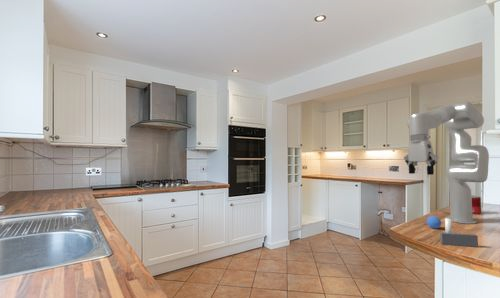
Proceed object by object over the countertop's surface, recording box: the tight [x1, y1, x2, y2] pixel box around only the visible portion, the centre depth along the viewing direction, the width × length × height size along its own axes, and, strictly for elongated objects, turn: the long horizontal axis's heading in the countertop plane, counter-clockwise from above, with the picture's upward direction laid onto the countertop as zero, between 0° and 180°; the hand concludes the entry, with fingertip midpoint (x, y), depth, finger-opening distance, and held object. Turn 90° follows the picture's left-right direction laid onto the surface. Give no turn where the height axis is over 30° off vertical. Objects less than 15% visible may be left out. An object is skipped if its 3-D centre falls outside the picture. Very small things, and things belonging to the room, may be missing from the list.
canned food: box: [471, 194, 482, 215], centre depth 161 cm, size 8×8×11 cm
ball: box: [426, 215, 442, 229], centre depth 128 cm, size 6×6×6 cm
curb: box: [439, 231, 479, 248], centre depth 103 cm, size 2×12×4 cm, turn 72°
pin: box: [444, 217, 453, 233], centre depth 112 cm, size 2×2×9 cm
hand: (420, 173), depth 123 cm, fingers open, 9 cm apart
